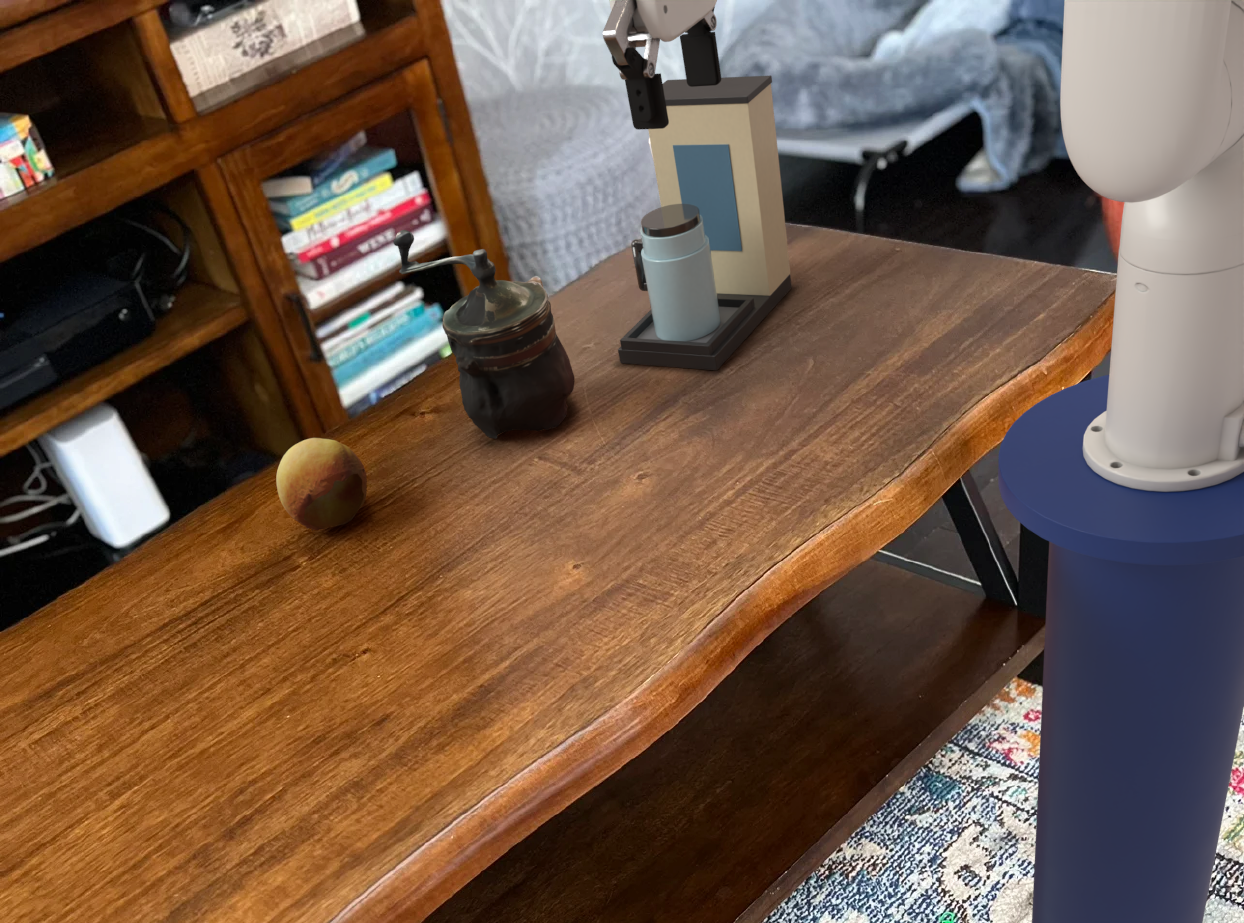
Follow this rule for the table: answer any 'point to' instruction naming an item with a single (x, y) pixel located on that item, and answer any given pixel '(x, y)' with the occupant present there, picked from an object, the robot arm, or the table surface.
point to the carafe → (677, 272)
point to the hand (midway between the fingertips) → (678, 105)
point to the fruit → (321, 483)
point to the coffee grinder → (503, 348)
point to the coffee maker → (721, 211)
